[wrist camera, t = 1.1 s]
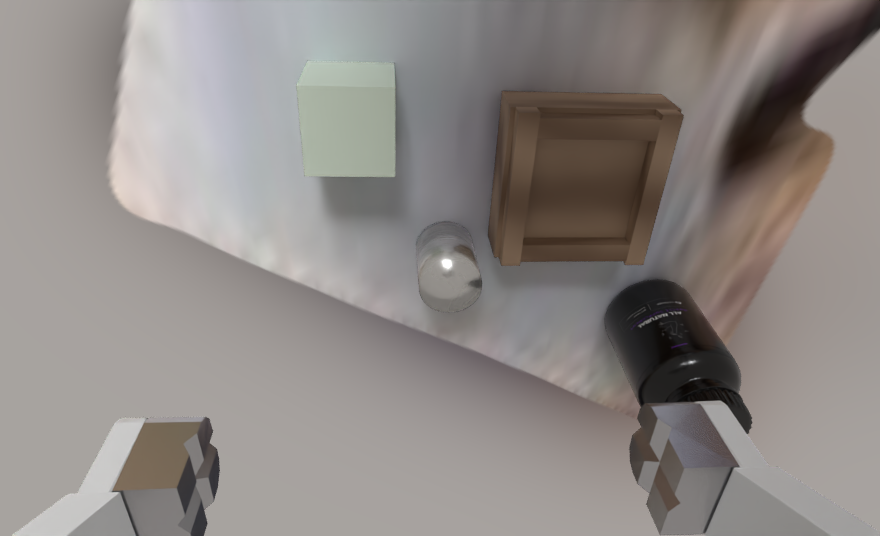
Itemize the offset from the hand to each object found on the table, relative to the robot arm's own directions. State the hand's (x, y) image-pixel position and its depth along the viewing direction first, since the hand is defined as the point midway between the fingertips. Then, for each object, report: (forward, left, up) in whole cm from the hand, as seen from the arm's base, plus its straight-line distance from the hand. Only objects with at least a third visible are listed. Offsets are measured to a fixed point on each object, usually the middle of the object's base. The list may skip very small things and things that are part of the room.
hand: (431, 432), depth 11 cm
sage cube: (+3, -3, -28) cm, 28 cm away
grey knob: (+13, +3, -28) cm, 31 cm away
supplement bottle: (+19, +19, -28) cm, 39 cm away
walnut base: (+7, +11, -28) cm, 31 cm away
